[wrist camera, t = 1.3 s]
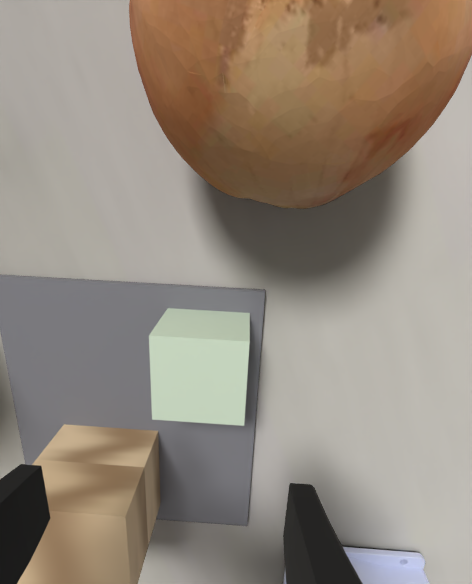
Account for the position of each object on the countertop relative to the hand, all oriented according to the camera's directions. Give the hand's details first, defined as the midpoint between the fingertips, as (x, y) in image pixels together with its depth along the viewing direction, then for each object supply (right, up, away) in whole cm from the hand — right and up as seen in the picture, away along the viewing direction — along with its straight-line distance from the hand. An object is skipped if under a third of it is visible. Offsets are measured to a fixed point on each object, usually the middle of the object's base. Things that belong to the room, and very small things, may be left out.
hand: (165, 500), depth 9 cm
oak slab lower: (-6, -5, +12) cm, 14 cm away
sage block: (0, +3, +9) cm, 10 cm away
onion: (+4, +15, +6) cm, 17 cm away
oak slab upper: (-6, -6, +9) cm, 13 cm away
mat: (-4, -1, +11) cm, 12 cm away
